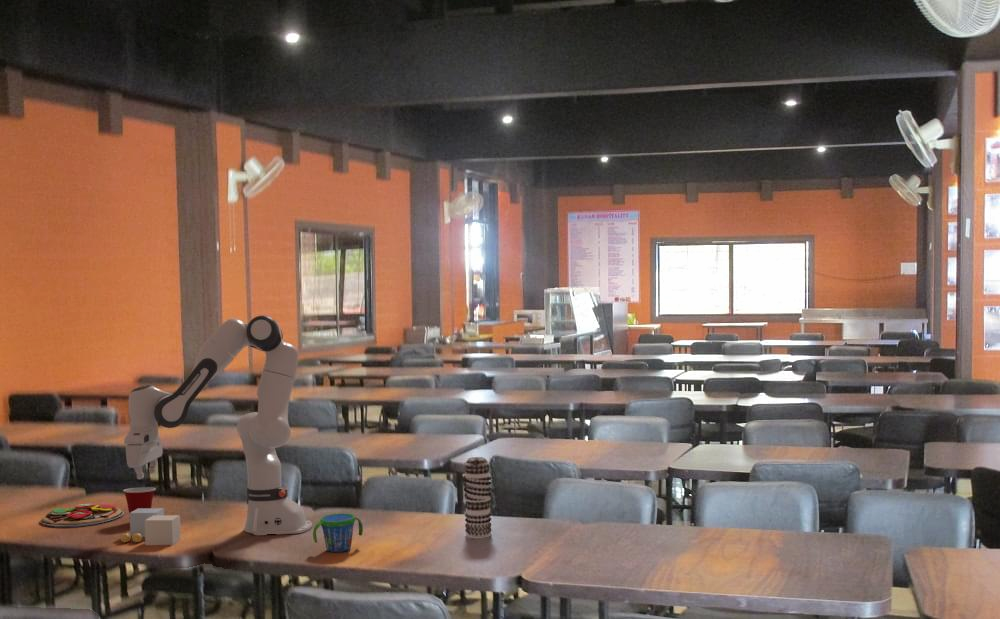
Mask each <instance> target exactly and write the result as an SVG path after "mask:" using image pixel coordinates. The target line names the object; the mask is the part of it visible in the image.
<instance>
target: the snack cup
mask: <svg viewBox="0 0 1000 619" xmlns="http://www.w3.org/2000/svg"><path fill="white" fill-rule="evenodd" d="M356 520H357V521H358V535H359V536H362V535H363V532H364V527H363V523H362V521H361V519H359V518H358V517H357V516H355V515H354V514H351V513H344V512H343V513H341V512H339V513H331V514H327V515H324V516H322V517H321V518H320V520H319V521H318V522H317V523H316V524H315V526H314V527H313V528H314V529H313V532H312V538H313V541H314V543H316V544H317V543H318V539H317V531H318V530H317V529H318V528H319V527H320V526H321V528H322V531H323V538H324V543H325V548H326V551H327V552H331V553H342V552H343V553H344V552H346V551H349V550H350V549H351V547H352V542H353V540H352V539H353V536H354V535H353V534H354V533H353V532H354V525H355V521H356Z"/></svg>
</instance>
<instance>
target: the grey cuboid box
mask: <svg viewBox="0 0 1000 619" xmlns="http://www.w3.org/2000/svg"><path fill="white" fill-rule="evenodd" d="M144 539H145V540H144V541H145V542H144V543H145V544H144V545H145V546H174V545H175V544H177V543H178V542H180V541H181V539H182V537H181V515H174V514H173V515H170V514H169V515H168V514H167V515H165V514H164V515H154V516H151V517H150V518H148V519H146V520H145V537H144ZM179 540H180V541H179Z"/></svg>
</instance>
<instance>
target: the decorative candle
mask: <svg viewBox="0 0 1000 619" xmlns="http://www.w3.org/2000/svg"><path fill="white" fill-rule="evenodd" d="M489 464H490V462H489V461H488V460H487V459H486V458H485V457H482V456H474V457H469V458H467V460H466V462H464V465H465V472H464V474H465V475H463V477H462V480H463V486H464V487H463V491H464V492H465V493H464V495H463V496H464V501H465V502H466V503H465V504H466V507H465V513H464V516H465V519H464V521H465V522H466V523H465V524H464V526H465V530H464V531H465V537H466V538H469V539H486V538H490V537H491V536H492V527H491V526H492V523H491V521H492V518H491V516H492V513H491V507H490V500H491V495H492V493H491V492H490V491H492V488H491V487H489V486H490V485H492V481H490V480H492V477H491V476H490V471H489V468H490V467H489ZM489 536H490V537H489Z"/></svg>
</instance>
